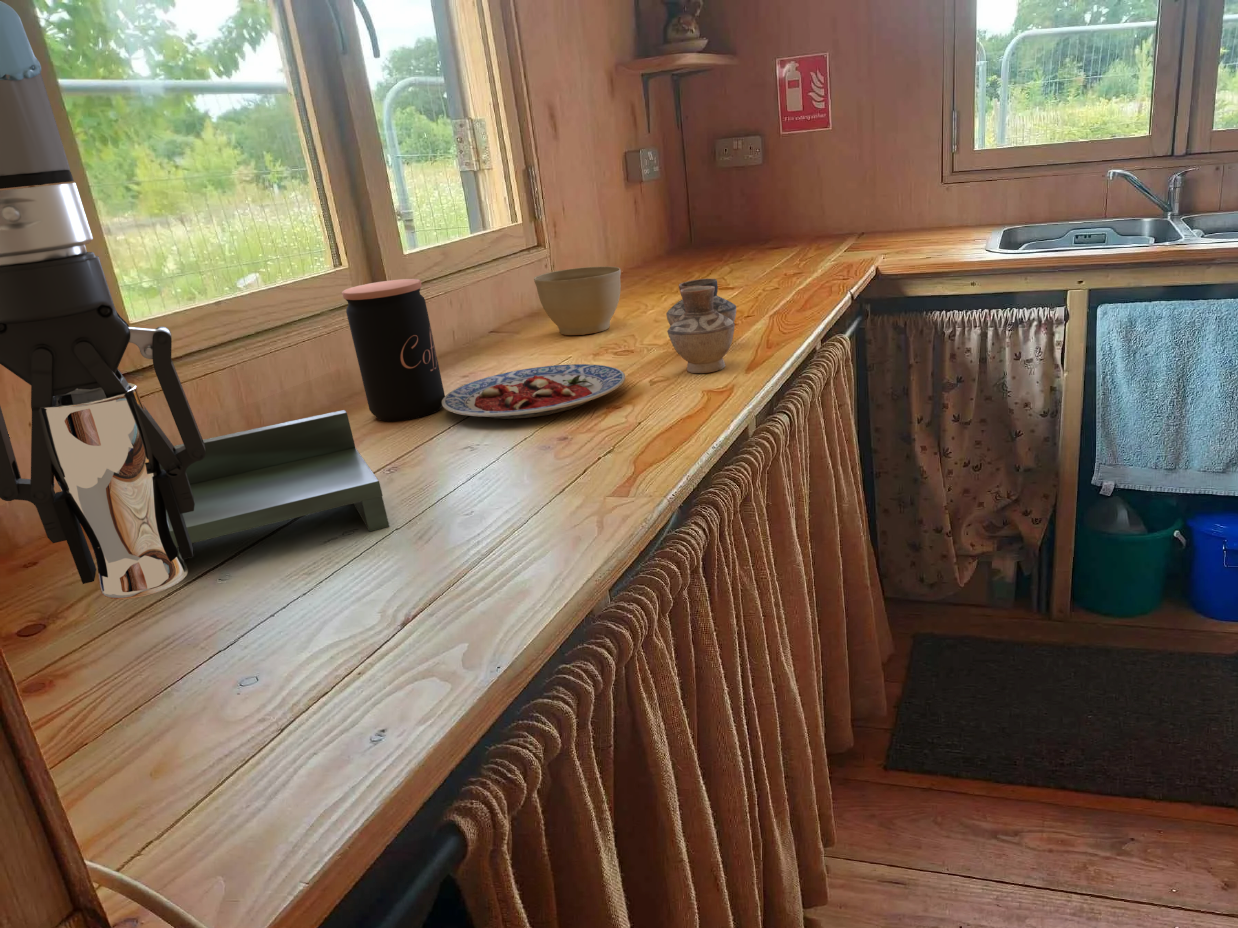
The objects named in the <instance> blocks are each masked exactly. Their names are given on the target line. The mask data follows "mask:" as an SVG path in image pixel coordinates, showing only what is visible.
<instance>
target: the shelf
mask: <svg viewBox="0 0 1238 928" xmlns="http://www.w3.org/2000/svg"><path fill="white" fill-rule="evenodd" d="M203 441H204V445H205V452H206V455H205V458H204V459H203V460H201V461H196V462H195V463H193V464H191V465H190V466H188V468H187V469H186V474H187V477H188V480H189V483H190V487H191V490H192V493H193V496H194V501H195V506H194V511H191V512H187V513H183V517H184V521H185V524H186V527H187V530H188V533H189V536H190V539H191V543H192V544H195V543H200V542H204V541H208V540H211V539H216V538H220V537H223V536H227V535H232V534H236V533H240V532H243V531H247V530H251V529H252V530H253V529H254V528H255V529H256V528H259V527H265V526H267V525H272V524H275V523H280V522H283V521H288V520H291V519H297V518H301V517H305V516H308V515H313V514H316V513H321V512H324V511H328V510H332V509H337V508H340V507H345V506H349V505H352V504H353V506H354V508H355V509H356V511H357V513H358V515H359V516H360V518H361V519H362V522H363V523H364V525H365V526H366V528H367V530H368V532H374V531H377V530H381V529H384V528H389V527H390V523H389V518H388V514H387V509H386V506H385V502H384V497H383V491H382V488H381V482H380V480H379V479H378V477H377V476H376V475H375V473H374V471H372V468H370V466H369V465H368V463H367V462H366V460H365V459H364V457H363V456H362V455H361V454H360V452H359V450H358V449H357V447H356V443H355V440H354V435H353V431H352V427H351V424H350V420H349V416H348V412H347V411H346V410H345V409H343V410H337V411H332V412H328V413H327V412H326V413H323V414H318V415H313V416H308V417H303V418H299V419H295V420H289V421H285V422H281V423H275V424H271V425H266V426H260V427H256V428H251V429H247V430H242V431H238V432H233V433H228V434H224V435H219V436H214V437H210V438H209V437H208V438H205V439H204V438H203ZM173 446H174V447H175V448H176V450H177V449H178V448H180V447H182V446H184V444H183V443H181V444H176V445H173ZM162 470H164V468H163V467H162ZM166 512H167V510H166ZM167 520H168V524H169V529H170V532H171V535H172V538H173V541H174V543H175V545H176V547H177V548H179V547H178V544H177V541H176V538H175V535H174V532H173V528H172V525H171V522H170V519H169V516H168V513H167Z"/></svg>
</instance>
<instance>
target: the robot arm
mask: <svg viewBox="0 0 1238 928" xmlns="http://www.w3.org/2000/svg"><path fill="white" fill-rule="evenodd" d="M67 157H68V156H67V154H66V151H65V148H64V144H63V141H62V137H61V134H60V132H59V127H58V124H57V121H56V118H55V114H54V112H53V108H52V105H51V102H50V98H49V95H48V91H47V88H46V85H45V82H44V79H43V75H42V65H41V63H40V60H39V59H38V58H37V57H36V56H35V53H34V51H33V48H32V46H31V43H30V41H29V38H28V35H27V32H26V30H25V27H24V25H23V22H22V19H21V17H20V15H19V14H18V12H17V11H16V10H15V9H14V8H13V7H12V6H10V5H9V4H8V3H6V2H4V1H2V0H0V365H1V366H2V367H3V368H5V369H7V370H8V371H9V372H11V373H12V374H14V375H15V376H17V378H20V379H21V380H22V381H24V382H25V383H26V384H28V385H29V386H30V390H31V391H30V407H31V409H30V410H31V428H30V429H31V432H30V433H31V438H30V478H22V475H21V472H20V469H19V466H18V462H17V459H16V454H15V451H14V448H13V444H12V441H11V438H10V437H9V434H8V431H9V430H8V427H7V424H6V421H5V417H4V413H3V410H2V406H1V405H0V499H1V500H2V501H4V502H12V501H26V502H29V503H31V504H32V505H34V507H35V509H36V510H37V511H36V512H37V514H38V517H39V518H40V521H41V524H42V527H43V529H44V532H45V534H46V536H47V539H48V540H49V541H50V542H51V543H52V544H56V543H60V542H65V541H66V544H67V545H68V549H69V551H70V554H71V556H72V559H73V561H74V565H75V568H76V569H77V572H78V575H79V578H80V580H81V584H82V585H85V584H89V583H93V582H95V580H96V574H97V567H96V566H97V565H96V563H95V561H94V558H93V555H92V553H91V549H90V547H89V544H88V542H87V539H86V536H85V534H84V533H85V532H84V529H83V527H82V526H81V524H80V522H79V521H78V519H77V517H76V516H75V514H74V512H73V510H72V509H71V507H70V505H69V503H68V502H67V500H66V498H65V496H64V495H63V493H62V491H55V485H56V483H55V476H54V474H53V471H52V464H51V458H50V455H49V452H48V448H47V445H46V440H45V436H44V432H43V428H42V423H41V418H40V414H39V409H40V408H41V407H43V406H56V398H57V395H63V394H67V393H69V392H71V391H74V390H76V389H90V390H91V389H97V388H102V389H103V391H104V392H105V393H106V395H107V396H108V397H112V396H115V395H118V394H121V393H124V392H128V390H130V389H131V387H130V386H129V384H128V383H129V382H128V381H127V379H126V377H125V376H124V375H123V373H122V372H121V371H120V370H119V366H120V364H121V362H122V359H123V357H124V355H125V352H126V350H127V348H128V346H129V343H130V344H133V345H136V346H137V348H138V350H139V354H140V355H141V356H142V357H143V358H144V359H148V360H152V365H153V369H154V372H155V375H156V378H157V380H158V383H159V384H160V385H159V386H160V388H161V391H162V393H163V396H164V398H165V400H166V403H167V406H168V408H169V410H170V414H171V416H172V418H173V421H174V423H175V426H176V428H177V431H178V433H179V436H180V438H181V441H182V444H184V446H182V447H180V448H178V449H177V450H176V448H175V447H174V446H175V445H174V444H173V442H171V440H170V439H169V438H168V436H167V435H166V433H165V432H164V431H163V429H162V427H161V426H160V425H159V424H158V423H157V421H156V420H155V418H154V417H153V416H152V414H151V413H150V411H149V410H148V409H147V408H146V406H145V405H144V404H143V406H144V408H145V410H144V409H143V408H142V407H141V406H140V405H139V404H138V403H137V402H136V401H135V400H134V399H133V398H132V399H133V402H134V404H135V407H136V409H137V411H138V414H139V416H140V419H141V421H142V424H143V426H144V429H145V431H146V434H147V437H148V440H149V443H150V446H151V450H152V454H153V455H154V457H155V458H156V459H157V461H158V462H159V463H160V465H161V466H162V467H163V468H164V470H162V473H163V474H162V476H161V477H160V478H159V479H158V480H157V482H158V485H159V489H160V492H161V495H162V498H163V501H164V504H165V507H166V510H167V513H168V516H169V519H170V522H171V525H172V528H173V532H174V535H175V538H176V541H177V544H178V547H177V548H178V551H179V553H180V555H181V556H182V559H183V560H186V559H190V558H191V559H192V558H194V547H193V543H191V539H190V536H189V533H188V530H187V527H186V524H185V521H184V517H183V513H187V512H191V511H194V506H195V501H194V496H193V493H192V490H191V487H190V483H189V480H188V477H187V474H186V469H187V468H188V466H190V465H191V464H193V463H195V462H196V461H201V460H203V459H204V458H205V455H206V452H205V445H204V441H203V440H204V438H203V437H202V434H201V431H200V428H199V426H198V423H197V420H196V418H195V415H194V413H193V411H192V408H191V405H190V402H189V401H188V397H187V394H186V392H185V389H184V387H183V384H182V382H181V380H180V377H179V375H178V372H177V370H176V366H175V364H174V362H173V359H172V346H173V345H172V342H173V341H172V340H173V339H172V337H173V336H172V332H171V330H170V329H169V328H167V327H165V326H157V327H155V328H145V327H134V326H129V323H127V321H125V319H124V318H123V317H122V316H120V314H119V312H118V311H117V309H116V306H115V304H114V300H113V297H112V293H111V291H110V288H109V285H108V281H107V278H106V276H105V272H104V269H103V266H102V263H101V260H100V257H99V256H98V255H95V252H93V251H88V250H87V247H86V245H89V244H90V243H91V242H92V241H93V239H94V237H93V233H92V231H91V228H90V225H89V221H88V218H87V215H86V212H85V209H84V205H83V202H82V198H81V196H80V193H79V189H78V186H77V183H76V182H74V181H75V180H74V177H73V174H72V172H71V168H70V165H69V161H68V158H67ZM12 188H13V189H12ZM131 397H132V396H131Z"/></svg>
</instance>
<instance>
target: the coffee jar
mask: <svg viewBox="0 0 1238 928" xmlns="http://www.w3.org/2000/svg"><path fill="white" fill-rule="evenodd" d="M422 287H423V285H422V280H421V279H418V278H401V279H390V280H384V281H383V280H382V281H377V282H376V281H375V282H371V283H365V284H359V285H356V286H352V287H348V288H346V289H344V290H342V291H341V295H342V298H343V299H344V300H345V301H346V302H347V307H346V309H345V312H346V317H347V321H348V327H349V329H350V335H351V337H352V342H353V347H354V351H355V355H356V358H357V359H356V360H357V363H358V368H359V371H360V376H361V380H362V385H363V388H364V392H365V396H366V397H365V398H366V401H367V405H368V409H369V412H371V414H372V415H373V416H374V417H375V418H376V419H377V420H378V421H382V422H402V421H409V420H410V421H411V420H414V419H419V418H422V417H426V416H430V415H432V414H434V413H436V412H437V413H438V412H439V411H440V410H441V409H443V406H442V400H443V398H444V397H445V396H446V395H445V390H444V385H443V380H442V379H443V378H442V374H441V371H440V365H439V361H438V356H437V350H436V346H435V341H434V336H433V331H432V327H431V321H430V315H429V313H428V312H429V311H428V308H427V303H426V299H425V297H424V296H423V295H422V294H421V292H420V291H421V288H422Z"/></svg>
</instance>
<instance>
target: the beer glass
mask: <svg viewBox="0 0 1238 928" xmlns="http://www.w3.org/2000/svg"><path fill="white" fill-rule="evenodd" d="M128 384H129V386H130V387H131V389H130V390H128V392H124V393H121V394H118V395H115V396H112V397H108V396H107V395H106V393H105V392H104V391H103V389H102V388H97V389H91V390H90V389H76V390H74V391H71V392H69V393H67V394H63V395H57V398H56V406H43V407H41V408H40V409H39V414H40V418H41V423H42V428H43V432H44V436H45V440H46V445H47V448H48V452H49V455H50V458H51V464H52V471H53V474H54V480H56V483H57V485H58V487H59V489H60V490H61V491H62V493H63V495H64V496H65V498H66V500H67V502H68V503H69V505H70V507H71V509H72V510H73V512H74V514H75V516H76V517H77V519H78V521H79V522H80V525H81V528H82V530H83V532H84V533H85V535H86V536H87V537H86V538H88V540H89V541H88V542H89V543H90V546H91V548H92V550H93V554H94V557H95V562H96V566H97V567H96V568H97V574H98V575H97V576H98V583H99V584H98V585H99V591H100V593H101V594H102V596H103V597H104V598H107V599H111V600H131V599H136V598H137V599H138V598H142V597H146V596H150V595H154V594H157V593H159V592H162V591H165V590H167V589H170V588H172V587H174V586H175V585H177V584H179V583H181V582H182V581H183V580H184V579H185V577H187V575H188V573H189V569H188V566H187V564H186V562H185V559H182V556H181V553H180V550H179V548H178V547H176V545H175V543H174V541H173V538H172V535H171V532H170V529H169V524H168V520H167V512H166V507H165V504H164V501H163V498H162V495H161V492H160V489H159V485H158V482H157V480H158V479H159V478H160V477H161V476H162V474H163V473H162V466H161V465H160V463H159V462H158V461H157V459H156V458H155V457H154V455H153V454H152V450H151V446H150V443H149V440H148V437H147V434H146V431H145V429H144V426H143V424H142V421H141V419H140V416H139V414H138V411H137V409H136V407H135V404H134V402H133V399H134V400H135V401H136V402H137V403H138V404H139V405H140V406H141V407H142V408H143V409H144V410H145V408H146V407H145V408H144V406H145V405H144V404H143V401H142V399H141V397H140V394H139V391H138V387H137V385H136V384H134V383H129V382H128ZM131 396H132V397H131ZM132 398H133V399H132ZM143 405H144V406H143ZM61 491H60V492H61Z"/></svg>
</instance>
